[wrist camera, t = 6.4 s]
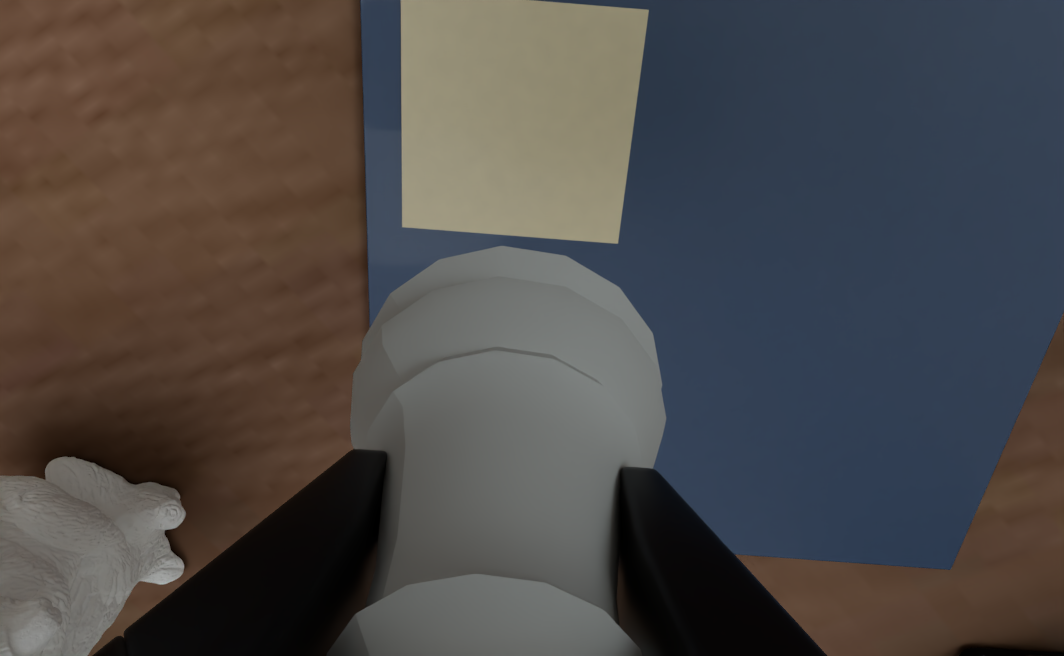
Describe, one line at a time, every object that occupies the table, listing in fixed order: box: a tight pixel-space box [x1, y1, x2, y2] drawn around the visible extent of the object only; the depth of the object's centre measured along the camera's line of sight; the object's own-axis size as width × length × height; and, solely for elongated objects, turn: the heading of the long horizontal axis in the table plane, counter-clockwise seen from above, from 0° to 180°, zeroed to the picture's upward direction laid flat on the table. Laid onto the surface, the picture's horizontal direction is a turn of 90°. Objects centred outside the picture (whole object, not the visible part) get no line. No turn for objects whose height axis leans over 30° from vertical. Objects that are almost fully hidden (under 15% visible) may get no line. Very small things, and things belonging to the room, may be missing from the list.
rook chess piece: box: [327, 246, 666, 656], centre depth 8 cm, size 4×4×8 cm
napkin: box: [360, 0, 1064, 570], centre depth 22 cm, size 18×20×1 cm
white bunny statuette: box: [0, 456, 186, 656], centre depth 20 cm, size 8×7×12 cm
